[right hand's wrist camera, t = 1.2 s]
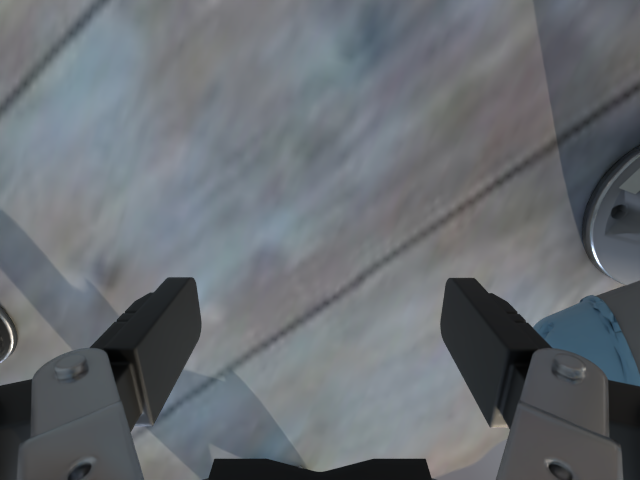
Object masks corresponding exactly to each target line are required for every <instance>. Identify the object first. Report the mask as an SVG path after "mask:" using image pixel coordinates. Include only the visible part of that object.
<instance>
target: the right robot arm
mask: <svg viewBox="0 0 640 480" xmlns="http://www.w3.org/2000/svg"><path fill="white" fill-rule="evenodd" d="M440 326H441V334H442V338H443V341H444V343H445V345H446V346H447V348H448V350H449V352H450V354H451V356H452V358H453V359H454V361H455V363H456V365H457V367H458V369H459V371H460V372H461V374H462V376H463V378H464V380H465V382H466V384H467V385H468V387H469V389H470V391H471V393H472V395H473V397H474V399H475V400H476V402H477V404H478V406H479V408H480V410H481V412H482V413H483V415H484V417H485V419H486V421H487V423H488V425H489V426H490V427H509V429H510V432H509V436H508V439H507V443H506V446H505V450H504V453H503V457H502V460H501V463H500V467H499V470H498V474H497V477H496V480H640V386H636V385H631V384H626V383H621V382H616V381H611V380H608V379H607V377H606V375H605V373H604V372H603V371H602V370H601V369H600V368H599V367H598V366H597V365H595V364H594V363H593V362H591V361H589V360H588V359H586V358H584V357H582V356H580V355H578V354H575V353H572V352H569V351H566V350H562V349H556V348H552V347H551V346H550V345H549V344H548V343H547V342H546V341H545V340H544V339H543V338H542V337H541V336H540V335H539V334H538V333H537V332H536V331H535V330H534V329H533V327H532V326H531V325H530V324H529V323H526V320H525V319H524V318H523V317H522V316H521V315H520V314H517V311H516V310H515V309H514V308H513V307H512V306H511V305H510V304H509V303H508V302H507V301H505V300H503V299H501V298H500V297H498V296H496V295H494V294H493V293H488V292H487V291H486V290H485V289H484V288H483V287H482V286H481V284H480V283H479V282H478V281H477V280H476V279H475V278H449V279H448V280H447V282H446V286H445V293H444V300H443V307H442V314H441V323H440ZM200 333H201V315H200V308H199V301H198V293H197V286H196V282H195V280H194V278H192V277H169V278H167V279H166V280H165V281H164V282H163V283H162V284H161V285H160V286H159V287H158V288H157V290H156V291H155V292H154V293H149V294H147V295H145V296H143V297H142V298H140V299H138V300H136V301H135V302H134V303H133V304H132V305H131V306H130V307H129V308H128V309H127V310H126V311H125V313H123V314H122V315H121V316H120V317H119V318H118V319H117V322H114V323H113V324H112V325H111V326H110V327H109V328H108V329H107V330H106V332H105V333H104V334H103V335H102V336H101V337H100V338H99V339H98V340H97V341H96V342H95V343H94V344H93V345H92V346H91V347H90V348H84V349H78V350H74V351H71V352H68V353H65V354H62V355H60V356H58V357H56V358H54V359H52V360H51V361H49V362H47V363H46V364H45V365H43V366H42V367H41V368H40V369H39V370H38V371H37V372H36V373H35V375H34V377H33V379H31V380H26V381H21V382H16V383H11V384H7V385H2V386H0V480H144V477H143V474H142V470H141V467H140V463H139V460H138V457H137V453H136V450H135V446H134V443H133V439H132V436H131V431H132V429H133V427H134V426H153V425H154V423H155V421H156V419H157V417H158V415H159V413H160V411H161V410H162V408H163V406H164V404H165V402H166V400H167V398H168V396H169V395H170V393H171V391H172V389H173V387H174V385H175V383H176V381H177V379H178V378H179V376H180V374H181V372H182V370H183V368H184V366H185V364H186V363H187V361H188V359H189V357H190V355H191V353H192V351H193V349H194V347H195V346H196V344H197V342H198V340H199V337H200ZM16 345H17V332H16V329H15V326H14V324H13V322H12V320H11V319H10V317H9V316H8V315H7V313H6V312H5V311H4V310H3V309H2V308H1V307H0V363H1V362H3V361H4V360H5V359H6V358H8V357H9V356H10V355H11V354H12V353H13V351H14V350H15V348H16ZM204 480H436V479H433V478H431V475H430V472H429V469H428V465H427V462H426V459H371V460H367V461H363V462H360V463H356V464H352V465H348V466H344V467H340V468H337V469H333V470H329V471H325V472H315V471H311V470H307V469H303V468H300V467H296V466H292V465H288V464H284V463H280V462H277V461H273V460H269V459H214V462H213V465H212V469H211V472H210V475H209V478H207V479H204Z"/></svg>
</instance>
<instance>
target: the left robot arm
mask: <svg viewBox="0 0 640 480" xmlns="http://www.w3.org/2000/svg"><path fill="white" fill-rule="evenodd" d="M582 235H583V243H584V247H585V250H586V253H587V255H588V257H589V259H590V260H591V262H592V263H593V264H594V265H595V267H596V268H598V269H599V270H600V271H601V272H602V273H604V274H605V275H607V276H609V277H611V278H612V279H614V280H616V281H618V282H620V283H622V284H624V285H625V286H623V287H620V288H617V289H614V290H611V291H608V292H606V293H603V294H600V295H597V296H594V295H590V296H587V297H585V298H583V299H582V300H581V301H580V303H578V304H576V305H574V306H571V307H569V308H567V309H564V310H562V311H560V312H557V313H555V314H552V315H550V316H548V317H545V318H543V319H542V320H540V321H539V322H538V323H536V325H535V326H534V327H533V329H534V330H535V331H536V332H537V333H538V334H539V335H540V336H541V337H542V338H543V339H544V340H545V341H546V342H547V343H548V344H549V345H550V346H551V347H552V348H556V349H562V350H566V351H569V352H572V353H575V354H578V355H580V356H582V357H584V358H586V359H588V360H589V361H591V362H593V363H594V364H595V365H597V366H598V367H599V368H600V369H601V370H602V371H603V372H604V373H605V375H606V377H607V379H608V380H611V381H616V382H621V383H626V384H631V385H636V386H640V145H639V146H638V147H636V148H635V149H633V150H632V151H630V152H629V153H627V154H626V155H625V156H624V157H622V158H621V159H620V160H619V161H618V162H617V163H616V164H615V165H614V166H613V167H612V168H611V169H610V170H609V171H608V172H607V173H606V174H605V176H604V177H603V178H602V179H601V181H600V182H599V184H598V185H597V187H596V188H595V190H594V192H593V194H592V196H591V198H590V200H589V202H588V205H587V208H586V211H585V215H584V219H583V227H582Z"/></svg>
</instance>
